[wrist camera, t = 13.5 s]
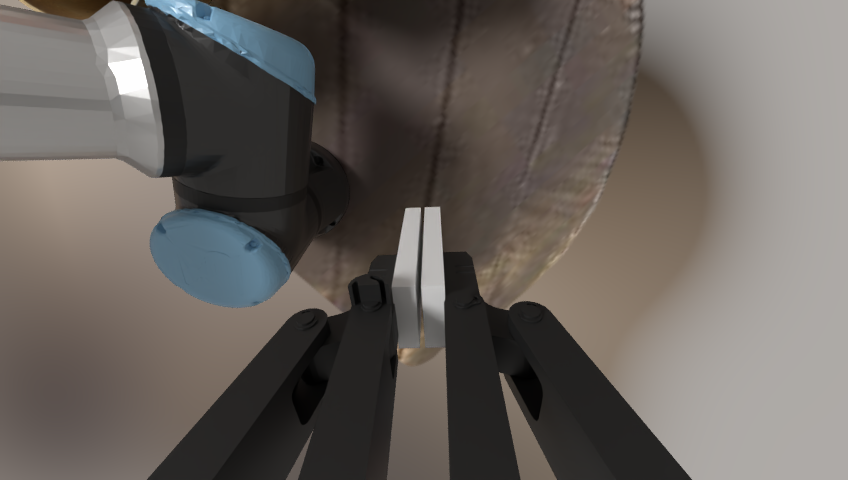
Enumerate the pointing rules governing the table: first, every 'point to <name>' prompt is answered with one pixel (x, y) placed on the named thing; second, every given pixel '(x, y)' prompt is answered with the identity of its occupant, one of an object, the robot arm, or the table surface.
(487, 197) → the table surface
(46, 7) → the plant pot
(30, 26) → the robot arm
